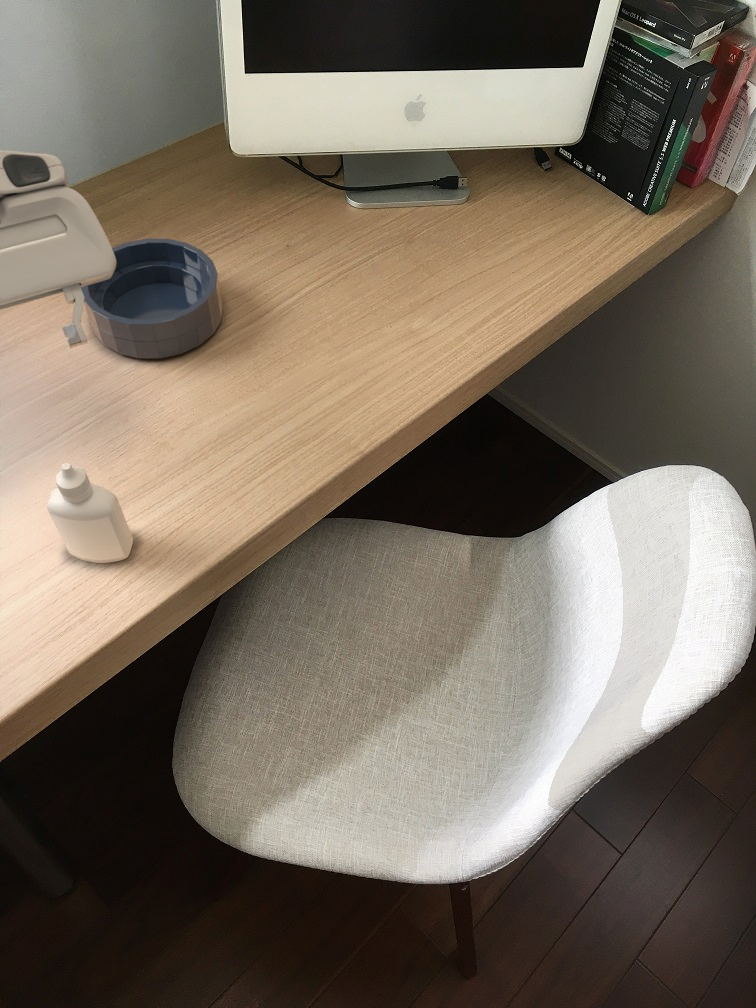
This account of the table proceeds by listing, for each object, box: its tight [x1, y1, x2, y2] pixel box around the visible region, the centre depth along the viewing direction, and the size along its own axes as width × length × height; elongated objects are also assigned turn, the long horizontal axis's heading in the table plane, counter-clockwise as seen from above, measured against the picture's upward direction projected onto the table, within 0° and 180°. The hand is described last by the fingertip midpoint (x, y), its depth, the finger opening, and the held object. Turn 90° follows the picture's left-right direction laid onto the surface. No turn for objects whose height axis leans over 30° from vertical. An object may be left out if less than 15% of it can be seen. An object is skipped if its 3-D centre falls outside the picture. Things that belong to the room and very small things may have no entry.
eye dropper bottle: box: [46, 462, 134, 564], centre depth 67 cm, size 4×6×12 cm
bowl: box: [81, 238, 223, 359], centre depth 88 cm, size 15×15×6 cm
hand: (22, 362), depth 65 cm, fingers open, 8 cm apart
